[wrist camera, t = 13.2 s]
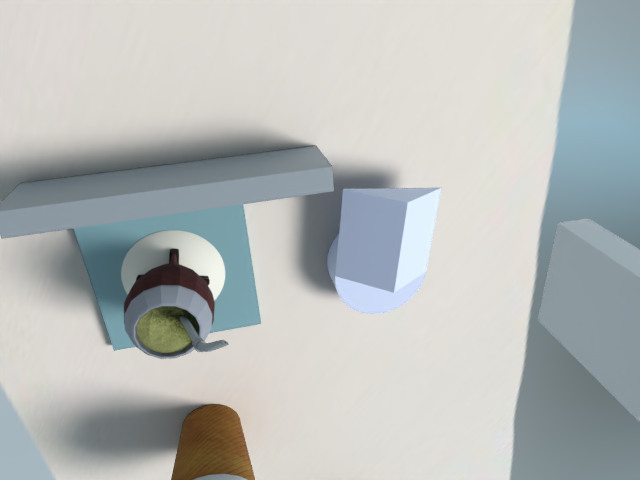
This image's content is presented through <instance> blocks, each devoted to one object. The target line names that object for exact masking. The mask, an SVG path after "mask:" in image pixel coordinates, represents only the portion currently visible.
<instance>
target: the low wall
mask: <svg viewBox="0 0 640 480" xmlns="http://www.w3.org/2000/svg"><path fill="white" fill-rule="evenodd" d="M332 191H334V185H333V167H332V165H331V164H330V163H329V162H328V160H327V159H326V158H325V156H324V155H323V154H322V152H321V151H320V150H319V149H318V147H317V146H311V147H303V148H295V149H287V150H279V151H271V152H263V153H255V154H247V155H240V156H232V157H224V158H216V159H208V160H200V161H192V162H184V163H176V164H169V165H161V166H153V167H145V168H137V169H129V170H121V171H113V172H105V173H98V174H90V175H82V176H74V177H66V178H58V179H50V180H42V181H34V182H27V183H20V184H19V185H18V186H17V187H16V188H15V189H14V190H13V191H12V192H11V193H10V194H9V195H8V196H7V197H6V198H5V199H4V200H3V201H2V202H1V203H0V235H1V238H2V239H3V238H10V237H17V236H24V235H31V234H38V233H45V232H52V231H59V230H66V229H73V228H80V227H87V226H94V225H101V224H108V223H115V222H122V221H129V220H136V219H143V218H150V217H157V216H164V215H171V214H178V213H185V212H192V211H199V210H206V209H213V208H220V207H227V206H234V205H241V204H248V203H255V202H262V201H269V200H276V199H283V198H290V197H297V196H304V195H311V194H318V193H325V192H332Z"/></svg>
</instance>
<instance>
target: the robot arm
mask: <svg viewBox="0 0 640 480" xmlns="http://www.w3.org/2000/svg"><path fill="white" fill-rule="evenodd" d="M538 321H539V322H540V323H541V324H542V325H543V326H544V327H545V328H546V329H547V330H548V331H549V332H550V333H551V334H552V335H553V336H554V337H555V338H556V339H557V340H558V341H559V342H560V343H561V344H562V345H563V346H564V347H565V348H566V349H567V350H568V351H569V352H570V353H571V354H572V355H573V356H574V357H575V358H576V359H577V360H578V361H579V362H580V363H581V364H582V365H583V366H584V367H585V368H586V369H587V370H588V371H589V372H590V373H591V374H592V375H593V376H594V377H595V378H596V379H597V380H598V381H599V382H600V383H601V384H602V385H603V386H604V387H605V388H606V389H607V390H608V391H609V392H610V393H611V394H612V395H613V396H614V397H615V398H616V399H617V400H618V401H619V402H620V403H621V404H622V405H623V406H624V407H625V408H626V409H627V410H629V412H630V413H631V414H632V415H633V416H634V417H635V418H636V419H637V420H638V421H639V422H640V250H639V249H638V248H636V247H634V246H633V245H631V244H630V243H628V242H626V241H625V240H623V239H621V238H620V237H618V236H616V235H615V234H613V233H612V232H610V231H608V230H606V229H605V228H603V227H601V226H600V225H598V224H597V223H595V222H593V221H592V220H590V219H588V218H587V219H581V220H574V221H568V222H561V223H558V227H557V232H556V237H555V241H554V246H553V250H552V256H551V260H550V265H549V270H548V274H547V279H546V284H545V288H544V293H543V298H542V302H541V307H540V312H539V317H538Z"/></svg>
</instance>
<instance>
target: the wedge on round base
mask: <svg viewBox="0 0 640 480" xmlns="http://www.w3.org/2000/svg"><path fill="white" fill-rule="evenodd" d="M440 193H441V188H378V189H343V196H342V207H341V218H340V230H339V234H338V235H337V236H336V238H335V239H334V241H333V243H332V245H331V247H330V249H329V253H328V258H327V267H328V272H329V275H330V277H331V279H332V281H333V284H334V286H335V288H336V290H337V292H338V294H339V296H340V298H341V299H342V301H343V302H344V303H345V304H346V305H347V306H349V307H350V308H352V309H354V310H356V311H358V312H361V313H367V314H379V313H385V312H388V311H391V310H394V309H396V308H398V307H400V306H401V305H403V304H404V303H406V302H407V301H408V300H409V299H411V298H412V297H413V296H414V295H415V293H416V292H417V291H418V289H419V288H420V286H421V284H422V283H423V280H424V278H425V274H426V270H427V264H428V259H429V253H430V248H431V242H432V237H433V231H434V226H435V220H436V215H437V209H438V204H439V198H440Z"/></svg>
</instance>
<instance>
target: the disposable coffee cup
mask: <svg viewBox="0 0 640 480" xmlns="http://www.w3.org/2000/svg"><path fill="white" fill-rule="evenodd" d="M240 423H241V422H240V418H239V416H238V414H237V413H236V412H235V411H234V410H233V409H231V408H229V407H227V406H223V405H207V406H203V407H200V408H198V409H196V410H194V411H192V412H191V413H190V414H189V415H188V416H187V417H186V418H185V420H184V422H183V425H182V431H181V435H180V440H179V445H178V450H177V454H176V459H175V464H174V469H173V474H172V478H171V480H255V477H254V475H253V474H254V473H253V470H252V465H251V462H250V460H249V459H250V458H249V455H248V450H247V446H246V442H245V438H244V434H243V430H242V426H241V424H240Z"/></svg>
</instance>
